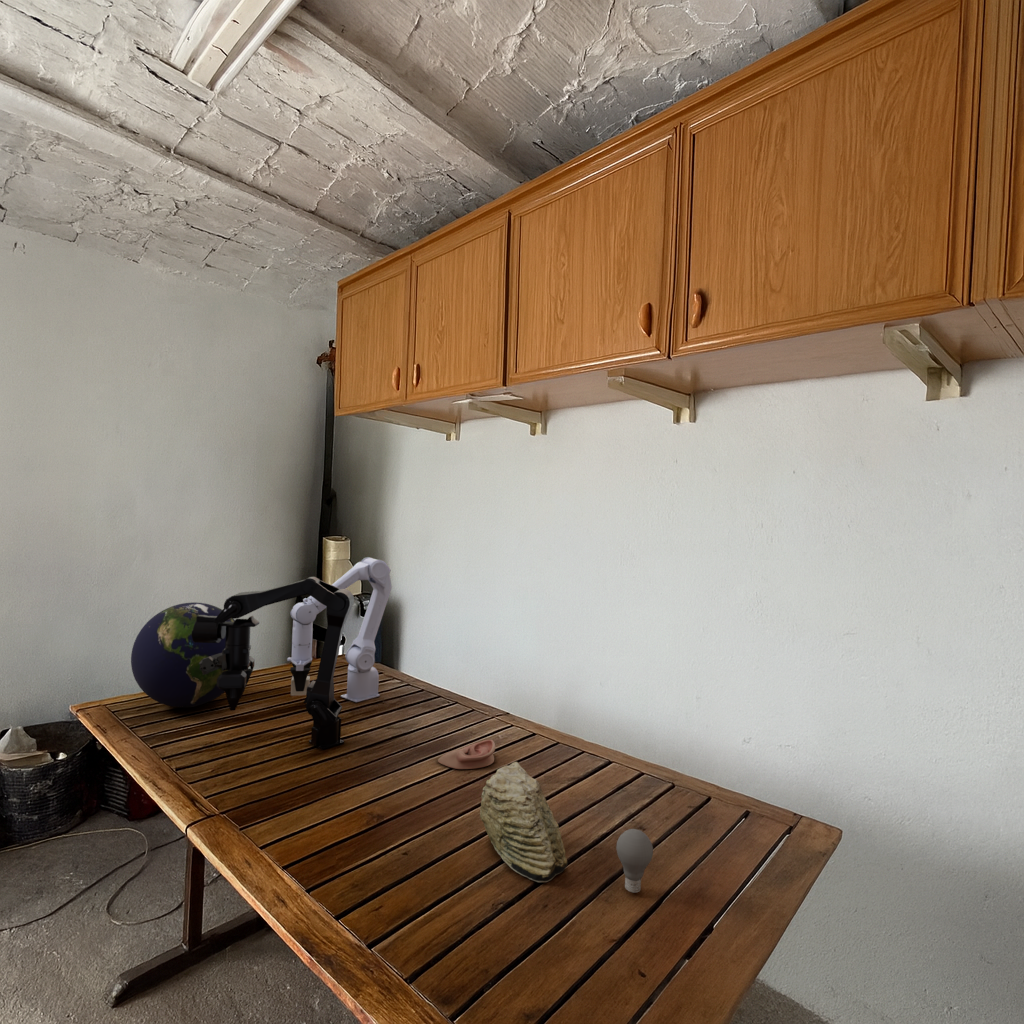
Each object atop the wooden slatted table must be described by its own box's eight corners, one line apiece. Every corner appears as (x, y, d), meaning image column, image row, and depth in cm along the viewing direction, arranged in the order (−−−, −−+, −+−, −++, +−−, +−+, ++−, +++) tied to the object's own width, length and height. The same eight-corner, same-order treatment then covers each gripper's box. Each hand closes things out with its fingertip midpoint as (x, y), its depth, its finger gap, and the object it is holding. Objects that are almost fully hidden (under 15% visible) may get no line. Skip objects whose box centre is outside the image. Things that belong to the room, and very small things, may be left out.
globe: (211, 683, 207) (214, 592, 206) (264, 704, 189) (267, 604, 189) (110, 705, 182) (113, 601, 182) (160, 731, 165) (164, 616, 164)
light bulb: (610, 879, 108) (613, 822, 108) (644, 879, 109) (647, 822, 109) (619, 902, 102) (622, 840, 102) (655, 901, 103) (658, 840, 103)
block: (291, 691, 191) (292, 676, 191) (309, 690, 192) (309, 675, 192) (290, 695, 187) (291, 680, 187) (308, 695, 188) (309, 679, 188)
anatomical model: (434, 749, 151) (448, 732, 162) (433, 766, 151) (447, 748, 162) (488, 756, 148) (499, 738, 159) (487, 773, 148) (498, 754, 160)
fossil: (501, 827, 124) (504, 751, 124) (575, 868, 111) (578, 784, 111) (467, 843, 118) (470, 763, 118) (541, 889, 105) (545, 799, 105)
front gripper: (210, 635, 167) (208, 694, 167) (194, 653, 149) (192, 718, 149) (255, 635, 170) (253, 692, 170) (245, 652, 152) (243, 716, 152)
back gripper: (290, 638, 195) (288, 681, 195) (285, 649, 181) (283, 696, 181) (314, 637, 197) (312, 681, 197) (311, 648, 183) (309, 695, 183)
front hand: (235, 704), depth 160 cm, fingers open, 9 cm apart
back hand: (300, 688), depth 189 cm, fingers closed on block, 4 cm apart
